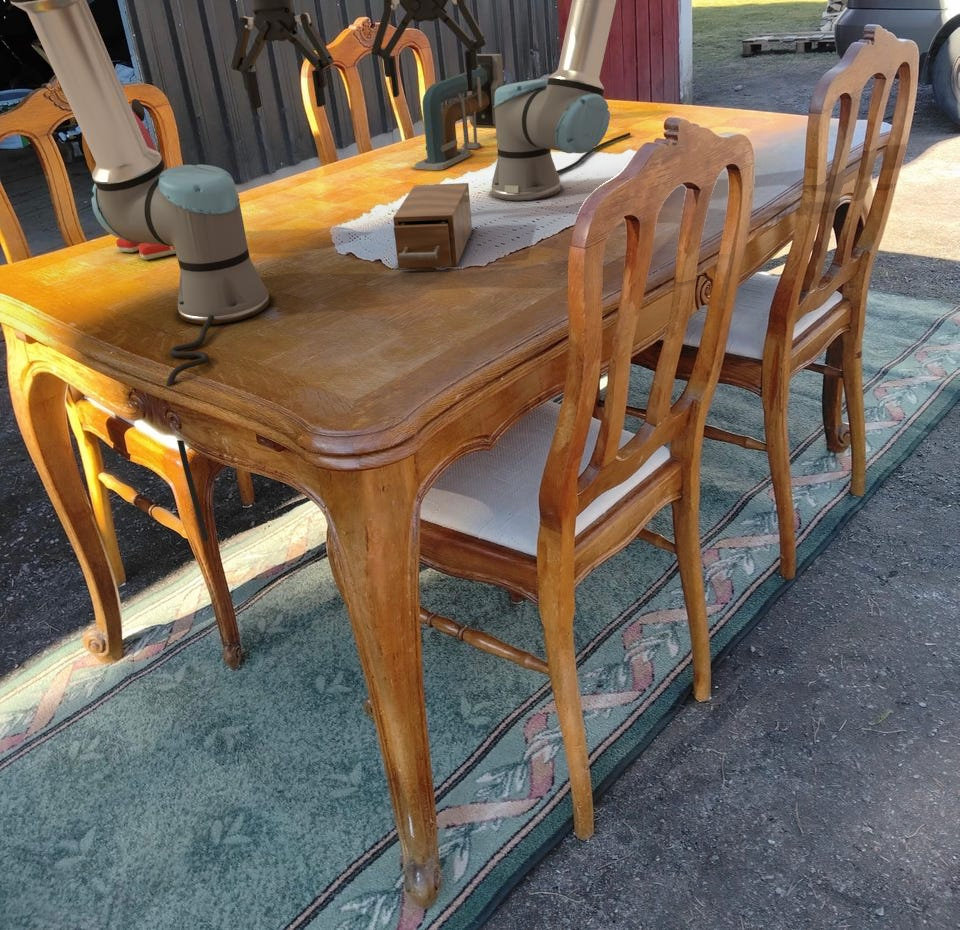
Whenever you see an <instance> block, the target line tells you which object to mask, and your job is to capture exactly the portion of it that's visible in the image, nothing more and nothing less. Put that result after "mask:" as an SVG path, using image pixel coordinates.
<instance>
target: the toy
mask: <svg viewBox="0 0 960 930" xmlns="http://www.w3.org/2000/svg"><path fill="white" fill-rule="evenodd" d="M131 109H132V112H133V114H134V116H135V119H136V121H137V124H138V126H139V128H140V131H141V133H142V136H143V138H144V140H145V143H146V145H147V147H148V148H150V149H153V150H155V151H157V149H156V146H155V143H154V141H153V138H152V136H151V133H150V132H149V130H148V128H147V127H146V125H145V124H144V121H145V119H146V117H145V115H146V113H145V109H144V106H143V104H142V102H140V100H139V99H137V98H133V99H132V101H131ZM81 141H82V142H81V143H82V150H83V153H84V157H85V161H86V165H87V167H88V169H89V172H90V174H91V175H92V174H93V171H94V169H95V167H96V162H95V160H94V157H93V155H92V153H91V151H90V149H89V146H88V144H87V142H86V140H85V138H84V136H83V133H82V132H81ZM115 244H116V247H117V250H118V252H121V253H135V252H139V256H140V257H141V259H143V260H152V259H158V258H162V257H167V256H172V255H176V251H175V247H173V246H166V245H158V244H150V243H134V242H131V241H127V240H124V239H120V238H117V239H116V243H115Z"/></svg>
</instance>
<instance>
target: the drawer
mask: <svg viewBox="0 0 960 930" xmlns="http://www.w3.org/2000/svg"><path fill="white" fill-rule="evenodd" d="M393 235H394V243H395V250H396V251H395V252H396V259H397V266H398V269H423V268H425V269H426V268H451V267H452V266H451V265H452V261H451V244H450V233H449V222H448V220H431V221H404V222H402V223H401V225H398V226H394V225H393Z"/></svg>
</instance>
